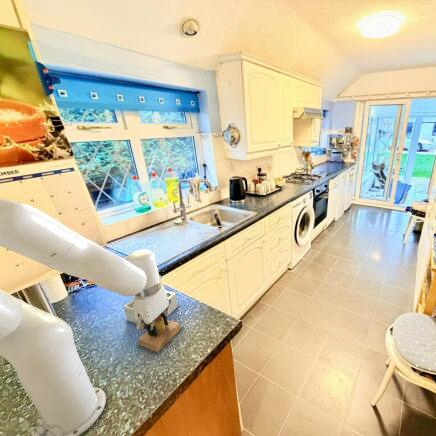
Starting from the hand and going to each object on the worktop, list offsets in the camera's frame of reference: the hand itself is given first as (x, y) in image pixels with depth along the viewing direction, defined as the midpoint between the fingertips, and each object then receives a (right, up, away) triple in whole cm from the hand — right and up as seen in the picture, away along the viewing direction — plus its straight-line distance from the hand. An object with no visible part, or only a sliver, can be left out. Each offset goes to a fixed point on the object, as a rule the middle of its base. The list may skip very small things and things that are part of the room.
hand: (158, 329), depth 82 cm
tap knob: (0, -1, 0) cm, 1 cm away
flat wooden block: (0, -3, +1) cm, 4 cm away
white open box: (-9, +1, +12) cm, 15 cm away
